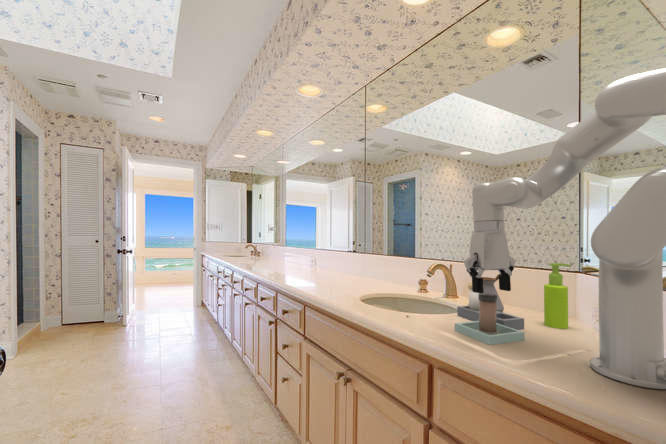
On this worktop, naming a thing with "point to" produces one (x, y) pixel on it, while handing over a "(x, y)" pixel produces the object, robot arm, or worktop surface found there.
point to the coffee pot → (492, 290)
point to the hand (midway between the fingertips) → (491, 291)
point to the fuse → (473, 298)
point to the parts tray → (505, 337)
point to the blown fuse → (487, 313)
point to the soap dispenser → (556, 299)
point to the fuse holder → (500, 317)
